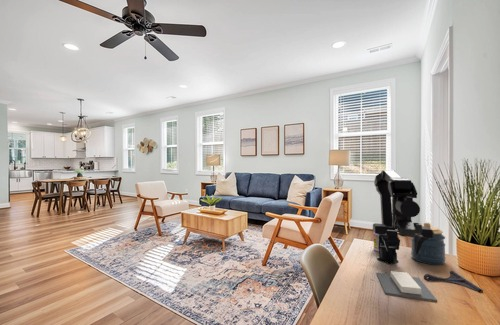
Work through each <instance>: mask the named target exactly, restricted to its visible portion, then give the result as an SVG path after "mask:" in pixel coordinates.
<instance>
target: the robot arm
mask: <svg viewBox="0 0 500 325" xmlns="http://www.w3.org/2000/svg"><path fill="white" fill-rule="evenodd" d="M373 182H374V186H375V190H376V192H377V193H378V195H379V196H380V197H379V198H380V199H379V200H380V213H381V214H380V216H381V223H375V222H374V223H372V231H373V233H374V232H375V233H376V234H378V236H377V239H376V245H377V247H378V248H379V251H378V257H376V260H378V261H380V262H382V263H386V264H388V265H392V264H393V265H394V264H396V263H399V260H398V253H397V251H399V250H400V246H401V245H400V244H401V239H400V237H399V236H401V237H411V238H412V237H415V254H416V255H417V254H418V252H419V250H420V247H421V245H422V244H423V242H424V241H426V240H429V239H430V238H434V232H433V231H432V230H431V229H430V228H428V227H425V226H422V225H423V224H422V223H421V222H413V220H412V218H415V217H417V216H418V215H419V214H420V212H421V208H420V205H419V203H418V202H417V201H415V200H414V199H417V198H418V191H417V189H416V186H415V184H414V182H413V181H412V180H411V179H410V178H409V177H408V178H407V177H401V176H400V175H399V174H398V173H396V170H395V169H381V172H379V173H378V174H377V175H376V176H375V177H374V181H373ZM398 235H399V236H398Z"/></svg>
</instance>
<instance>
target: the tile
mask: <svg viewBox="0 0 500 325" xmlns="http://www.w3.org/2000/svg"><path fill="white" fill-rule="evenodd" d="M389 274H390V275H391V278H392V279H393V281H394V282H395V283H396V285H397V286H398V288H399V289H400V291H401V292H402V293H409V294H417V295H420V294H421V295H422V292H421V288H420V286H419V285H418V284H417V283H416V282H415V281H414V280H413V278H412V277H413V276H411V275H410V274H409V272H403V271H402V272H400V271H392V270H391V271H390V273H389Z"/></svg>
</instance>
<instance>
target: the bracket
mask: <svg viewBox="0 0 500 325" xmlns="http://www.w3.org/2000/svg"><path fill="white" fill-rule="evenodd" d="M423 279H424V280H425V281H436V282H447V283H452V284H455V285H459V286H462V287H465V288H468V289H470V290H472V291H475V292H477V293H479V292H481V293H484V290H483V289H482V288H480V287H479V286H478V285H476V284H474V283H473V282H471V281H469V280H468V279H466V278H464V277H463V276H462V275H460V274H458V273H457V272H455V271H453V270H451V271H449V276H448V277H442V276H441V277H440V276H436V275H432V274H430V273H425V274H424V275H423Z"/></svg>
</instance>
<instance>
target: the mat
mask: <svg viewBox="0 0 500 325" xmlns="http://www.w3.org/2000/svg"><path fill="white" fill-rule="evenodd" d="M375 274H376V276H377V279H378V281H379V283H380V285H381V287H382V289H383V292H384V294H385V295H390V296H393V297H401V298H407V299H409V298H410V299H415V300H423V301H428V302H429V301H430V302H434V303H438V299H437V298H436V297H435V295H434V294H433V293H432V292H431V290H430V289H429V288H428V287H427V286H426V285H425V283H424V281H423V280H421V278H420V277H416V276H411V277H412V278H413V280H414V281H415V282H416V283H417V284H418V285H419V286H420V288H421V292H422V295H421V294H420V295H417V294H409V293H402V292H401V291H400V289H399V288H398V286H397V285H396V283H395V282H394V281H393V279H392V278H391V275H390V273H384V272H376V273H375Z"/></svg>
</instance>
